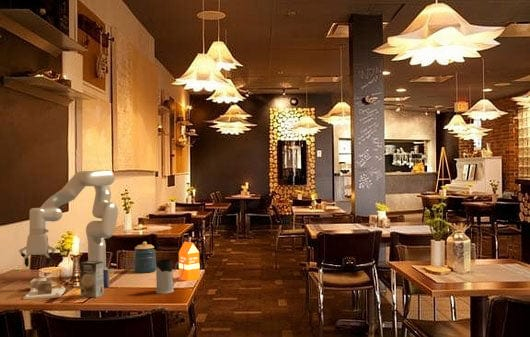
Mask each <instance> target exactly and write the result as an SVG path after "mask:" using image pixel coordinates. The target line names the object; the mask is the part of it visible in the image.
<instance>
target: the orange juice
mask: <svg viewBox="0 0 530 337" xmlns="http://www.w3.org/2000/svg"><path fill="white" fill-rule="evenodd" d="M178 262H182V263H178V276H179V277H178V279H179V278H180V276H181V275H182V272H183V264H184V272H183V275H182V277H181V278H180V279H179V280H182V281H187V282H190V281H197V280H201V279H200V278H201V276H200V274H201V273H200V272H201V271H200V268H201V267H200V251H199V249H198V248H197V247H196V245H195V243H194V242H190V241H184V242H183V244H182V246H181V247H180V249H179V251H178Z"/></svg>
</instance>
